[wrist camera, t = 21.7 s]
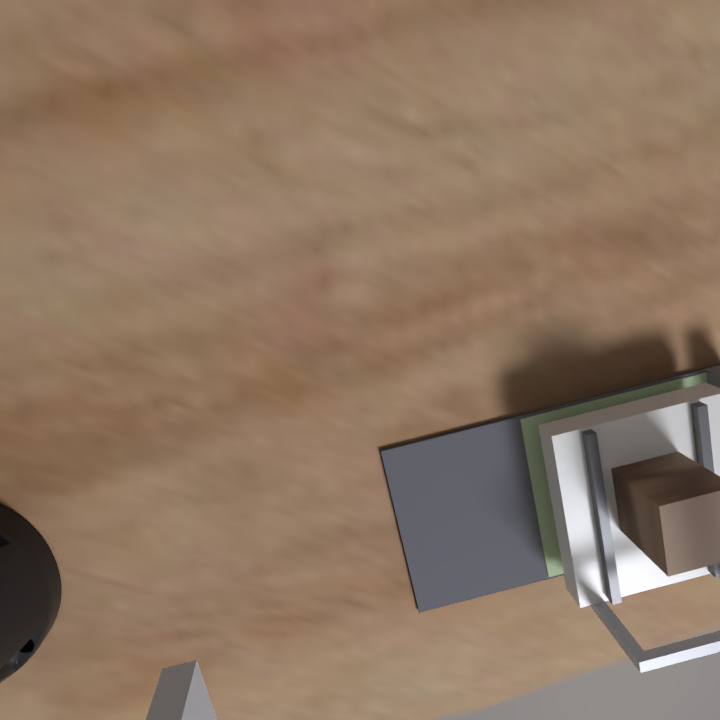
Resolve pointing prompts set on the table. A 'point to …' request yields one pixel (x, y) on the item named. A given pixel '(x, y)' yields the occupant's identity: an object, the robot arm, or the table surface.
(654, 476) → the block
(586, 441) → the white tray
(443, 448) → the grey holder base
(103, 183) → the table surface
